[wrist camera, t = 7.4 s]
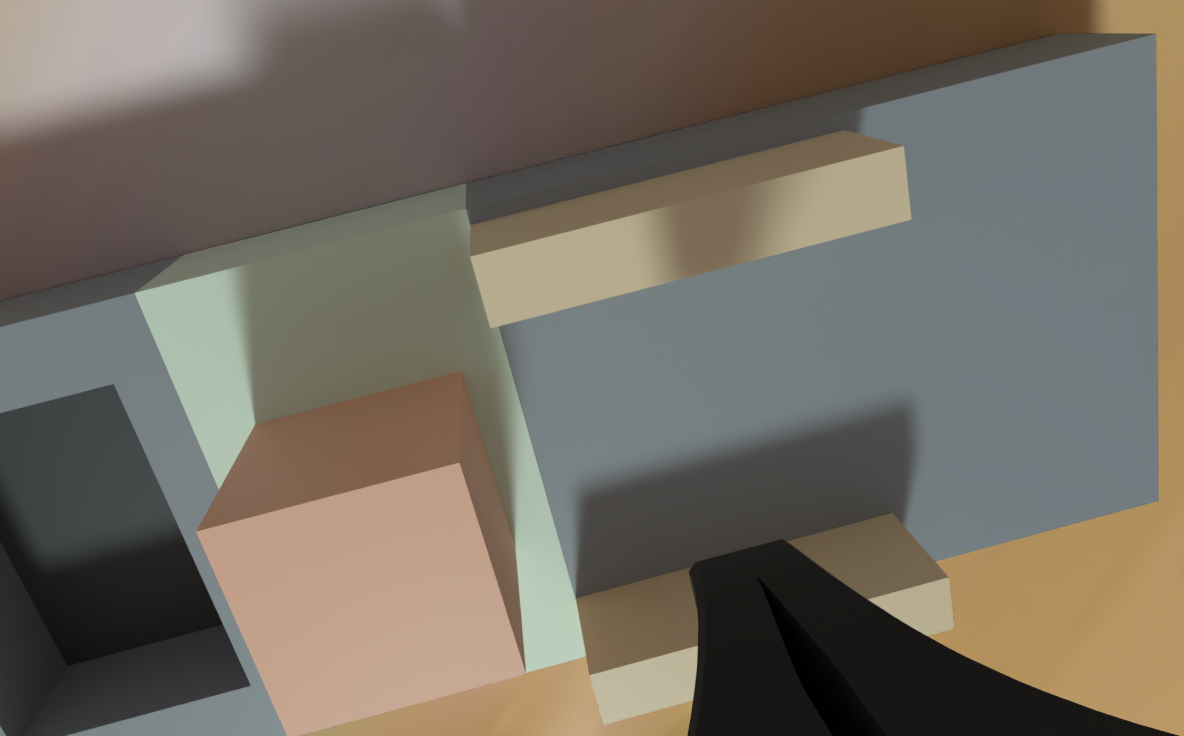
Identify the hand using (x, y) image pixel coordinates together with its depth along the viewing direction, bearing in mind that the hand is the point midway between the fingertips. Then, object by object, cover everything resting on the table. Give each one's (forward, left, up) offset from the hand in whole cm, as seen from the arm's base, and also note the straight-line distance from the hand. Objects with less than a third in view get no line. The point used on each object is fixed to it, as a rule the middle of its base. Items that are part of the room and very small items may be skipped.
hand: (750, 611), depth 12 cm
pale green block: (+3, +5, -9) cm, 11 cm away
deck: (+2, +2, -9) cm, 10 cm away
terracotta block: (+3, +4, -6) cm, 8 cm away
